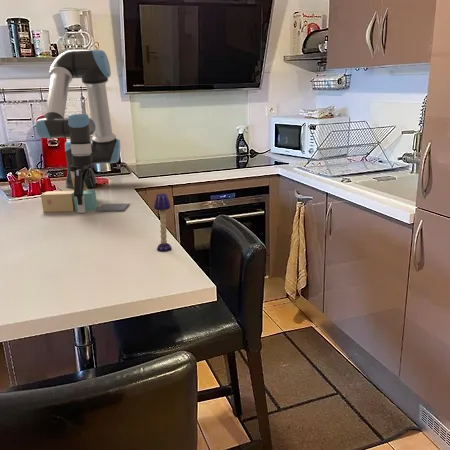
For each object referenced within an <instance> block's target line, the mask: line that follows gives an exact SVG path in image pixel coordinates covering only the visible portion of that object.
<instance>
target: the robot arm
mask: <svg viewBox="0 0 450 450" xmlns="http://www.w3.org/2000/svg"><path fill="white" fill-rule="evenodd" d="M107 55H108V54H107V53H106V52H105V51H104V50H102V49H80V50H79V49H77V50H76V49H75V50H74V49H73V50H72V49H71V50H67V51H64V52H62V53H61V54H59V55H58V56H57V57H56V58H55V59H54V61H53V62H52V64H51V65H50V68H49V72H48V73H49V74H48V75H49V78H50V81H49V88H48V95H47V99H46V104H45V105H46V106H45V110H44V118H39V119H37V120H36V123H35V129H36V133H37V135H38V137H39V138H41V139H54V138H55V139H56V138H69V140H66V142H64V152H65V160H66V167H67V173H66V174H67V175H66V179H65V187H66V188H69V189H70V188H72V189H73V191H74V197H77V208H78V211H77V213H79V214H80V213H81V214H85V213H86V211H85V202H84V196H83V190H84V182H85V184H86V186H87V189H86V191H92V190H95V189H96V185H95V183H97V184H98V180H97V177H96V175H95V173H94V170H93V169H91V167H92V168H93V166H92V165H96V164H97V165H98V164H108V165H110V164H115V163H118V162H119V161H120V158H121V140H120V139H119V138H117V135H116V134H115V133H113V129H112V123H111V115H110V107H109V101H108V93H107V88H106V87H107V86H106V84H107V83H108V81H109V78H110V77H111V74H112V73H111V71H112V70H111V64H110V61H109V58H108V56H107ZM79 78H81V83H82V84H84V85H85V86H86V91H87V98H88V104H89V111H90V116H91V118H90V117H89V114H87V113H70V114H68V115H67V116H68V117H65V113H66V107H67V101H68V100H67V99H68V92H69V88H70V83H72V81H73V79H79ZM91 136H92V137H91ZM71 165H75V166H77V170H74V174H75V180H74V187H73V183H72V179H71V173H70V171H69V169H70V166H71Z"/></svg>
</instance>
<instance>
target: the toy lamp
mask: <svg viewBox="0 0 450 450" xmlns="http://www.w3.org/2000/svg"><path fill="white" fill-rule="evenodd" d="M153 208H154V210H158V211H159V217H160V220H159V222H160V243H159V244H158V245H157V247H156V250H157V251H158V252H160V253H162V252H163V253H166V252H170V251H172V250H173V249H172V245H171V244H169V243H168V242H167V219H166V218H167V214H166V211H167V210H169V209H171V203H170V200H169V197H168V194H167V193H157V194H156V197H155V200H154V205H153Z"/></svg>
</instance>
